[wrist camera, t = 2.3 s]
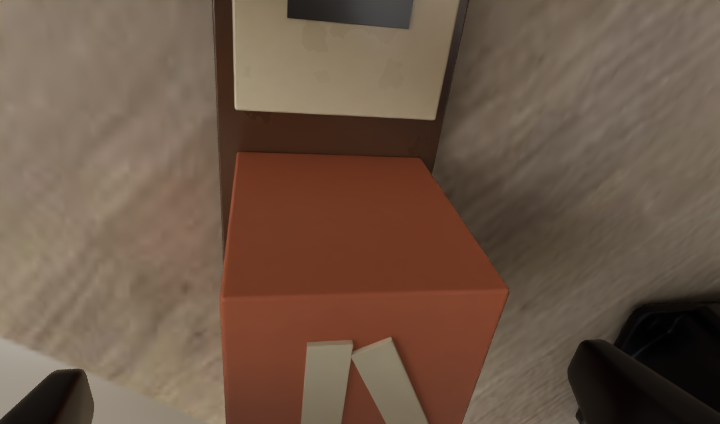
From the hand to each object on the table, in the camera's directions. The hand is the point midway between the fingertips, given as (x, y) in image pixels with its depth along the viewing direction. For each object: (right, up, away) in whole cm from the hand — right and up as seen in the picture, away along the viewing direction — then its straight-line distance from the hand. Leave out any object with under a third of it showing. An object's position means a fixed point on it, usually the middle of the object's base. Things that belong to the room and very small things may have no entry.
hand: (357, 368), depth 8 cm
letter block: (-1, +2, +4) cm, 5 cm away
